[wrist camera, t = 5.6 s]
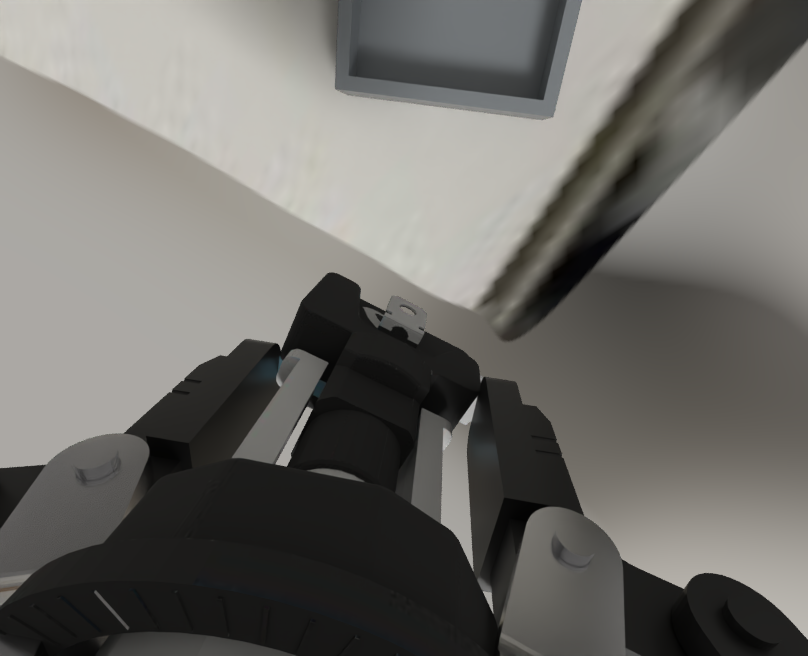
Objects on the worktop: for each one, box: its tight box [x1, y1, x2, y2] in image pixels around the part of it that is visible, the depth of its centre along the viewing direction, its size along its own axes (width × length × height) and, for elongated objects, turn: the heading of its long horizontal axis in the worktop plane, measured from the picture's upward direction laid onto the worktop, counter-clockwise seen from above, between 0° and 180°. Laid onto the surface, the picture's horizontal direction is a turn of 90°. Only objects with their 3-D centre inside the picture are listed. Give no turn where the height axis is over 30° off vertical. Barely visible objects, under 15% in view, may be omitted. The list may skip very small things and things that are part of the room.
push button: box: [0, 273, 498, 656], centre depth 7 cm, size 7×5×10 cm
